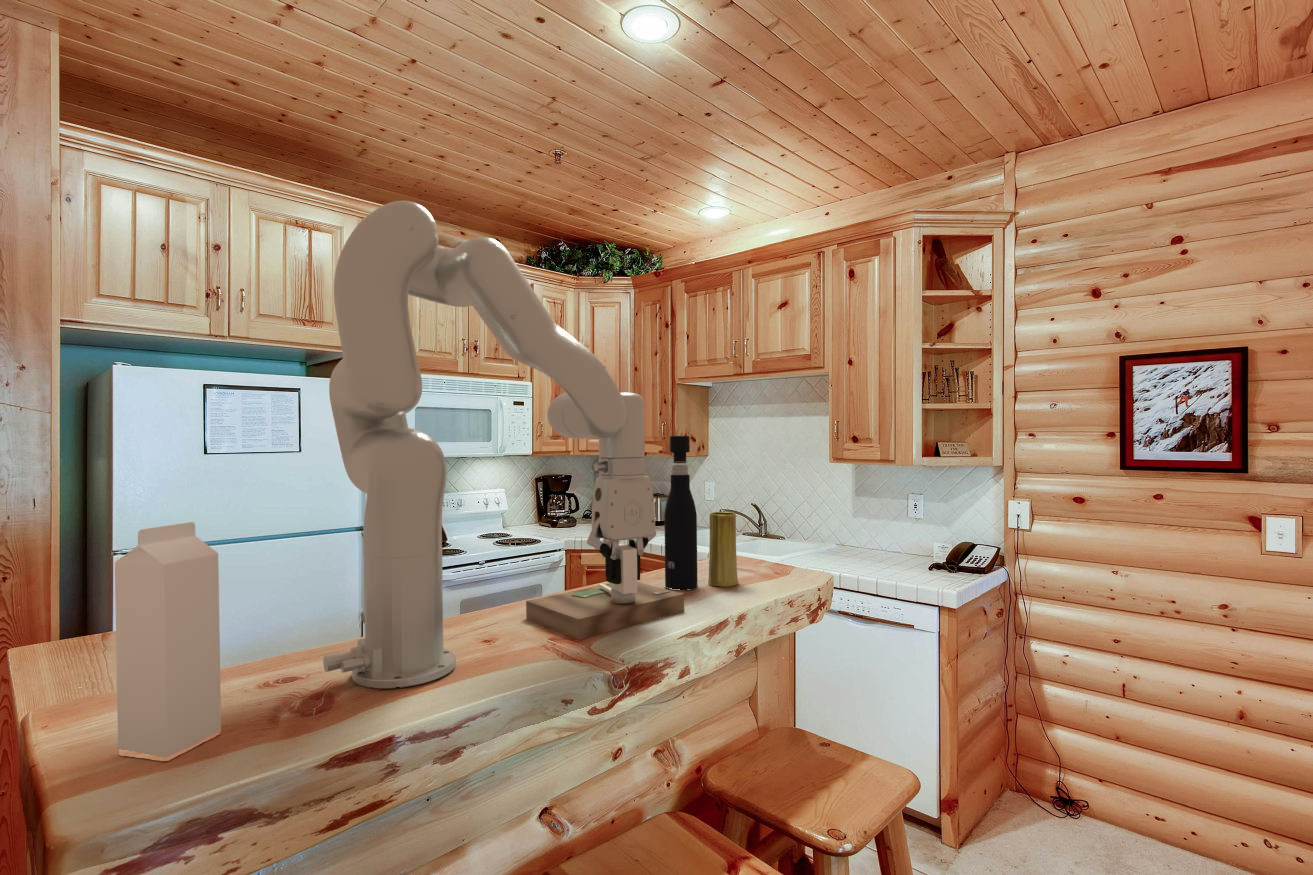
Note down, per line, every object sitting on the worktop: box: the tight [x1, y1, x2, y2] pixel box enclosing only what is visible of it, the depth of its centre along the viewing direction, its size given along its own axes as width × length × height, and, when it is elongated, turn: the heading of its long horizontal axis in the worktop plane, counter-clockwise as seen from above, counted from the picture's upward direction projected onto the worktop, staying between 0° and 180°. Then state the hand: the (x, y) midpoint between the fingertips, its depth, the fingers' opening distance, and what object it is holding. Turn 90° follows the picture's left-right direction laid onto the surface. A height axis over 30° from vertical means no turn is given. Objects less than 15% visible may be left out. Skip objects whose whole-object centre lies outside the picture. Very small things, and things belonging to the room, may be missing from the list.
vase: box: [707, 511, 739, 588], centre depth 132 cm, size 6×6×14 cm
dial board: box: [525, 581, 685, 640], centre depth 111 cm, size 22×15×3 cm
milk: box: [114, 521, 222, 758], centre depth 65 cm, size 6×6×22 cm
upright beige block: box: [598, 543, 638, 604], centre depth 110 cm, size 13×4×9 cm, turn 26°
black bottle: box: [663, 435, 698, 591], centre depth 130 cm, size 6×6×30 cm
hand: (623, 579), depth 107 cm, fingers closed on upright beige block, 3 cm apart
